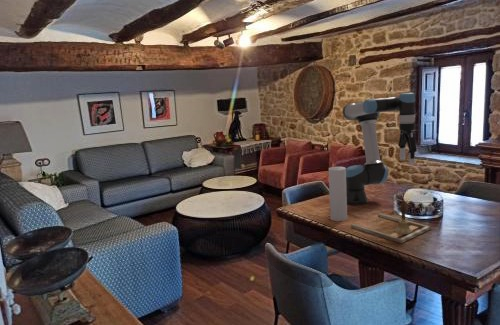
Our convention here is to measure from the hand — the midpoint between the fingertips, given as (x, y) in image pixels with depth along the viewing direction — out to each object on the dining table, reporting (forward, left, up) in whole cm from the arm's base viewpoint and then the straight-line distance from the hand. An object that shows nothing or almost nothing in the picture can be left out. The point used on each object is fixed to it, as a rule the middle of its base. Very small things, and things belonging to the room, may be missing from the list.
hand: (407, 162), depth 197 cm
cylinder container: (+25, -27, -32) cm, 49 cm away
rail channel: (+19, +2, -32) cm, 37 cm away
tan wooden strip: (+19, +10, -32) cm, 38 cm away
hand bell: (+19, +10, -31) cm, 38 cm away
